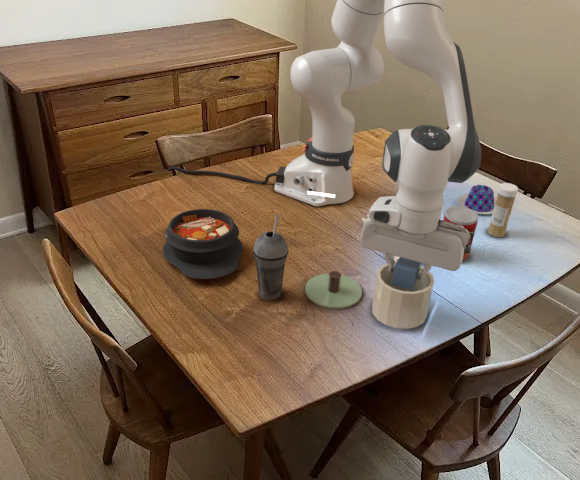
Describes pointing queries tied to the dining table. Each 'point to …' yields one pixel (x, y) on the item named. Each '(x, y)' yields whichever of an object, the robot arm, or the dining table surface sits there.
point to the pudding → (479, 199)
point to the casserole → (203, 243)
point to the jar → (401, 300)
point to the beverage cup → (270, 262)
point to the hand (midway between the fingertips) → (406, 274)
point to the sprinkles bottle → (502, 209)
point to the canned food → (463, 222)
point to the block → (405, 273)
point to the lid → (333, 290)
